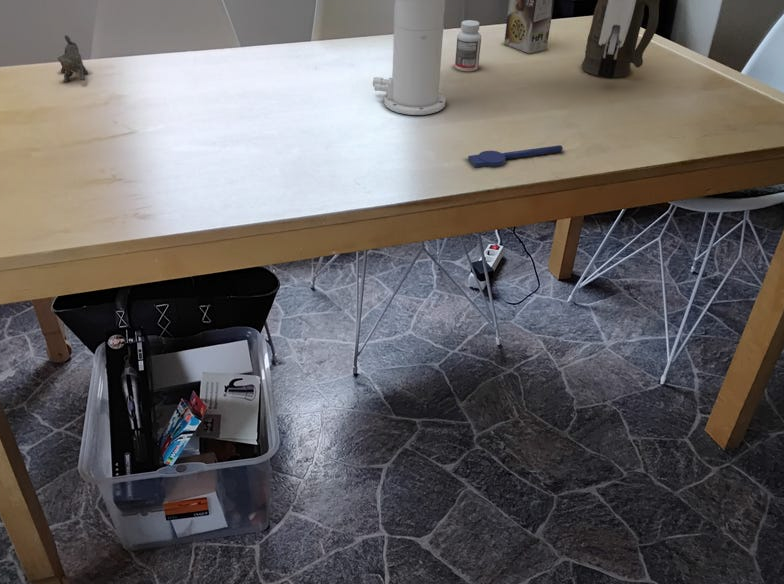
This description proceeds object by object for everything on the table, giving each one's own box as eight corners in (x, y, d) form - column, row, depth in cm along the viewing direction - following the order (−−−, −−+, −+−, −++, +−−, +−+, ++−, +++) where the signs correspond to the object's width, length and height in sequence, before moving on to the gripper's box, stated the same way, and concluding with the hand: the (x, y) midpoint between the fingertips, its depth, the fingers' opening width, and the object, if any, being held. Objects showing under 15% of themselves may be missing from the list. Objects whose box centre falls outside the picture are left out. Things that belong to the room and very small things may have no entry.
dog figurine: (61, 69, 162) (52, 34, 157) (88, 67, 163) (80, 32, 159) (59, 88, 153) (50, 52, 149) (88, 86, 155) (79, 50, 150)
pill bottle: (461, 62, 169) (466, 17, 162) (482, 67, 166) (487, 22, 160) (450, 68, 165) (454, 23, 159) (470, 73, 163) (475, 27, 157)
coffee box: (547, 49, 176) (559, -24, 166) (528, 54, 174) (539, -20, 163) (521, 39, 182) (531, -32, 172) (502, 44, 179) (511, -29, 169)
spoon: (477, 169, 127) (477, 163, 126) (465, 158, 130) (466, 151, 129) (568, 156, 131) (569, 150, 130) (555, 146, 134) (556, 139, 134)
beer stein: (569, 67, 166) (594, -28, 152) (595, 57, 172) (621, -36, 158) (627, 91, 159) (659, -6, 145) (652, 79, 164) (685, -16, 150)
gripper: (610, -28, 150) (590, 63, 162) (604, -11, 139) (584, 85, 151) (648, -24, 148) (625, 67, 160) (644, -6, 138) (620, 90, 150)
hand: (605, 76), depth 156 cm, fingers closed
